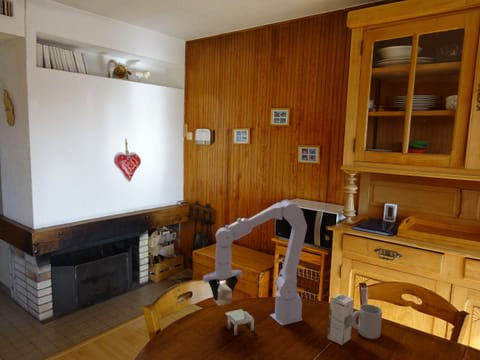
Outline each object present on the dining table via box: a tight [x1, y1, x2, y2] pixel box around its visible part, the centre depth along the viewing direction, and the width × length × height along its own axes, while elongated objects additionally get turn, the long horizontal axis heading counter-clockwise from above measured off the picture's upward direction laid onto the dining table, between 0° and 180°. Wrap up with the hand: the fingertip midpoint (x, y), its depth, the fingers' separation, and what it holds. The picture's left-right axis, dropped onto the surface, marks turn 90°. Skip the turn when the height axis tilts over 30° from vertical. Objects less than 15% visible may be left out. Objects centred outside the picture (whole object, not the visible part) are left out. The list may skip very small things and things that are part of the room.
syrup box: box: [326, 293, 355, 346], centre depth 117 cm, size 6×6×14 cm
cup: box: [352, 303, 383, 340], centre depth 121 cm, size 7×10×9 cm
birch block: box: [212, 284, 233, 307], centre depth 127 cm, size 5×5×5 cm
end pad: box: [224, 308, 249, 322], centre depth 131 cm, size 7×7×1 cm
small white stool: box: [227, 311, 255, 336], centre depth 122 cm, size 8×6×4 cm
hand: (222, 297), depth 127 cm, fingers closed on birch block, 5 cm apart
